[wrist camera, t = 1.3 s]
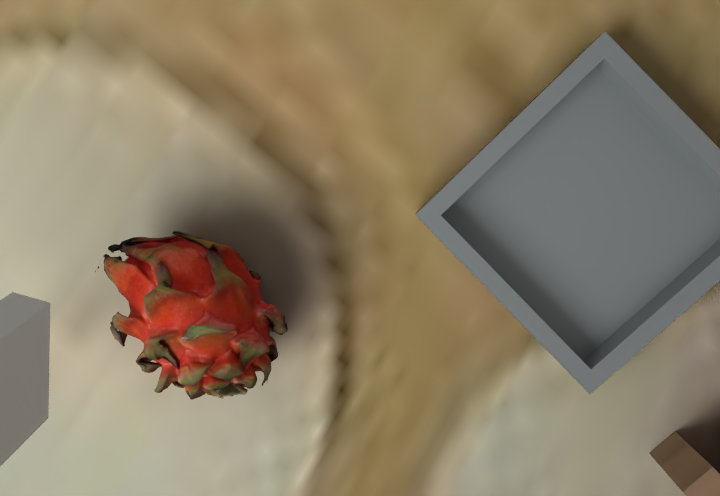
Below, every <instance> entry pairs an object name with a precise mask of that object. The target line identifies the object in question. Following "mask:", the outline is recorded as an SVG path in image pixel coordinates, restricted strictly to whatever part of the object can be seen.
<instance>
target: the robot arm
mask: <svg viewBox="0 0 720 496" xmlns="http://www.w3.org/2000/svg"><path fill="white" fill-rule="evenodd" d="M49 345H50V303H49V302H46V301H42V300H38V299H35V298H31V297H28V296H24V295H20V294H17V293H13V292H12V293H11V294H9V295H8V296H6V297H5V298H3V299H2V300H0V466H1V465H2V464H3V463H4V462H5V461H6V460H7V459H8V458H9V457H10V456H11V455H12V454H13V453H14V452H15V451H16V450H17V449H18V448H19V447H20V446H21V445H22V444H23V443H24V442H25V441H26V440H27V439H28V438H29V437H30V436H31V435H32V434H33V433H34V432H35V431H36V430H37V429H38V428H39V427H40V426H41V425H42V424H43V423H44V422H45V421H46V420H47V419H48V401H49Z"/></svg>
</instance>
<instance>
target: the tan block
mask: <svg viewBox="0 0 720 496" xmlns="http://www.w3.org/2000/svg"><path fill="white" fill-rule="evenodd" d="M650 455H651V456H652V457H653V458H654V459H655V460H656V461H657V463H658V464H659V465H660V466H661V467H662V468H663V470H664V471H665V472H666V473H667V474H668V475H669V476H670V478H671V479H672V480H673V481H674V482H675V483H676V485H677V486H678V487H679V488H680V489H681V490H682V491H683V492H684V494H685V495H686V496H720V474H719V473H718V472H717V471H716V470H715V469H714V468H713V467H712V466H711V465H710V464H709V463H708V462H707V461H706V460H705V459H704V458H703V457H702V456H701V455H700V454H699V453H698V452H697V451H695V450H694V449H693V448H692V447H691V446H690V445H689V444H688V443H687V442H686V441H685V440H684V439H683V438H682V437H681V436H680V435H679V434H678V433H676V432H674V433H673V434H672V435H671V436H669V437H668V438H667V439H666V440H665V441H663V442H662V443H661V444H660V445H659V446H658V447H656V448H655V449H654V450H653V451H652V452H650Z"/></svg>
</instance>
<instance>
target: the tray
mask: <svg viewBox="0 0 720 496" xmlns="http://www.w3.org/2000/svg"><path fill="white" fill-rule="evenodd" d="M416 216H417V217H418V218H419V219H420V220H421V221H422V222H423V223H424V224H425V225H426V226H427V227H428V228H429V229H430V230H431V231H432V233H433V234H434V235H435V236H436V237H437V238H438V239H439V240H440V241H441V242H442V243H443V244H444V245H445V246H446V247H447V248H448V249H449V250H450V251H451V252H452V253H453V254H454V255H455V256H456V257H457V258H458V259H459V260H460V261H461V262H462V263H463V264H464V265H465V266H466V267H467V268H468V269H469V271H470V272H471V273H472V274H473V275H474V276H475V277H476V278H477V279H478V280H479V281H480V282H481V283H482V284H483V285H484V286H485V287H486V288H487V289H488V290H489V291H490V292H491V293H492V294H493V295H494V296H495V297H496V298H497V299H498V300H499V301H500V302H501V303H502V304H503V305H504V306H505V307H506V309H507V310H508V311H509V312H510V313H511V314H512V315H513V316H514V317H515V318H516V319H517V320H518V321H519V322H520V323H521V324H522V325H523V326H524V327H525V328H526V329H527V330H528V331H529V332H530V333H531V334H532V335H533V336H534V337H535V338H536V339H537V340H538V341H539V342H540V343H541V344H542V345H543V347H544V348H545V349H546V350H547V351H548V352H549V353H550V354H551V355H552V356H553V357H554V358H555V359H556V360H557V361H558V362H559V363H560V364H561V365H562V366H563V367H564V368H565V369H566V370H567V371H568V372H569V373H570V374H571V375H572V376H573V377H574V378H575V379H576V380H577V381H578V382H579V383H580V385H581V386H582V387H583V388H584V389H585V390H586V391H587V392H588V393H589V394H591V393H592V392H593V391H594V390H595V389H597V388H598V387H599V386H600V385H601V384H602V383H603V382H605V381H606V380H607V379H608V378H609V377H610V376H611V375H613V374H614V373H615V372H616V371H617V370H618V369H619V368H621V367H622V366H623V365H624V364H625V363H626V362H627V361H629V360H630V359H631V358H632V357H633V356H634V355H635V354H637V353H638V352H639V351H640V350H641V349H642V348H643V347H644V346H646V345H647V344H648V343H649V342H650V341H651V340H652V339H654V338H655V337H656V336H657V335H658V334H659V333H660V332H662V331H663V330H664V329H665V328H666V327H667V326H668V325H670V324H671V323H672V322H673V321H674V320H675V319H676V318H678V317H679V316H680V315H681V314H682V313H683V312H684V311H686V310H687V309H688V308H689V307H690V306H691V305H692V304H693V303H695V302H696V301H697V300H698V299H699V298H700V297H701V296H703V295H704V294H705V293H706V292H707V291H708V290H709V289H711V288H712V287H713V286H714V285H715V284H716V283H717V282H719V281H720V149H719V148H718V147H717V146H716V145H715V144H714V143H713V141H712V140H711V139H710V138H709V137H708V136H707V135H706V134H705V133H704V132H703V131H702V130H701V129H700V128H699V127H698V126H697V125H696V124H695V123H694V122H693V121H692V120H691V119H690V118H689V117H688V116H687V115H686V114H685V113H684V112H683V111H682V110H681V109H680V108H679V107H678V106H677V105H676V104H675V103H674V102H673V101H672V100H671V98H670V97H669V96H668V95H667V94H666V93H665V92H664V91H663V90H662V89H661V88H660V87H659V86H658V85H657V84H656V83H655V82H654V81H653V80H652V79H651V78H650V77H649V76H648V75H647V74H646V73H645V72H644V71H643V70H642V69H641V68H640V67H639V66H638V65H637V64H636V63H635V62H634V61H633V60H632V59H631V58H630V56H629V55H628V54H627V53H626V52H625V51H624V50H623V49H622V48H621V47H620V46H619V45H618V44H617V43H616V42H615V41H614V40H613V39H612V38H611V37H610V36H609V35H608V34H607V33H606V32H604V33H603V34H602V35H600V36H599V37H598V38H597V39H596V40H595V41H593V42H592V43H591V44H590V45H589V46H588V47H587V48H586V49H585V50H584V51H583V52H582V53H581V54H580V55H579V56H578V57H577V58H576V59H575V60H574V61H573V62H572V63H571V64H570V65H569V66H568V67H567V68H566V69H565V70H563V71H562V72H561V73H560V74H559V75H558V76H557V77H556V78H555V79H554V80H553V81H552V82H551V83H550V84H549V85H548V86H547V87H546V88H545V89H544V90H543V91H542V92H541V93H540V94H539V95H538V96H537V97H536V98H535V99H534V100H532V101H531V102H530V103H529V104H528V105H527V106H526V107H525V108H524V109H523V110H522V111H521V112H520V113H519V114H518V115H517V116H516V117H515V118H514V119H513V120H512V121H511V122H510V123H509V124H508V125H507V126H506V127H505V128H504V129H503V130H502V131H500V132H499V133H498V134H497V135H496V136H495V137H494V138H493V139H492V140H491V141H490V142H489V143H488V144H487V145H486V146H485V147H484V148H483V149H482V150H481V151H480V152H479V153H478V154H477V155H476V156H475V157H474V158H473V159H472V160H471V161H470V162H468V163H467V164H466V165H465V166H464V167H463V168H462V169H461V170H460V171H459V172H458V173H457V174H456V175H455V176H454V177H453V178H452V179H451V180H450V181H449V182H448V183H447V184H446V185H445V186H444V187H443V188H442V189H441V190H440V191H439V192H438V193H436V194H435V195H434V196H433V197H432V198H431V199H430V200H429V201H428V202H427V203H426V204H425V205H424V206H423V207H422V208H421V209H420V210H419V211H418V212H417V213H416Z"/></svg>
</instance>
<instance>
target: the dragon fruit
mask: <svg viewBox="0 0 720 496" xmlns="http://www.w3.org/2000/svg"><path fill="white" fill-rule="evenodd" d="M172 234H174V235H176V236H171V237H163V238H147V237H134V238H131V239H128V240H125V241H123V242H121V244H120V245H117V244H115V245H111V246H109V247H108V249H109V250H110V251H111V252H114V251H117V250H120V251H121V252H125V254H126V256H129V258H128V259H126V260H125V261H122V259H121V257H120V256H119V257H110V256H109V255H107V254H105V255H104V256H103V257H105V259H104V263H103V264H104V271H105V272H106V274H107V275H108V277H109V278H110V279H111V281H112V282H113V283H114V284H115V285H116V286H117V288H118V290H119V292H120V293H121V294H122V295H123V296H124V297H126V299H127V300H128V302H129V306H130V310H131V312H130V315H129V317H126V316H123V315H121V314H120V313H119V312H117V314H116V315H114V316H113V318H112V322H111V323H110V324H111V327H110V329H111V332H112V334H113V336H114V338H115V339H116V340H117V341H118V342H119V343H120V344H121V345H122V346H125V344H124V343H125V340H126V337H127V334H128V335H131V336H133V337H136V338H138V339H140V340H141V341H142V342H143V343H144V350H143V352H142V353H141V354H140V355H139V356H138V358H137V360H136V362H137V364H138V365H140V367H141V368H142V370H143V371H144V372H147V373H151V372H154V371H155V370H156V369H157V368H158V367H162V371H161V375H160V378H159V382H158V385H157V387H156V389H155V392H157V393H160V392H162V391H163V390H164V389H166V388H168V386H169V385H170V384H171V383H173V384H174V385H175V386H177V387H180V388H184V387H185V389H186V393H187V394H188V396H189V397H190V399H194V398H198V397H200V396H202V395H204V394H205V393H207V394H208V395H212V396H217V397H218V398H221V397H222V398H224V397H226V396H233V395H235V394H236V395H237V394H246V393H247V389H245V388H244V387H247V388H253V387H254V386H255V384H256V382H257V376H256V374H255V371H262V372H263V373H264V381H263V383H262V386H263V384H264V383H265V381H266V380H268V376H269V374H270V372H271V362H272V361H273V360H275V359H276V358H277V357H278V352H277V348H276V343H275V340H274V339H273V338H272V337H271V336H269V332H270V330H271V331H273V332H276V333H278V334H280V335H282V334H284V333H285V332H287V330H288V328H287V324H286V322H285V316H284V315H283V314H282V313H281V312H279V311H278V310H277V309H276V308H275V307H274V306H273V305H272V304H267V303H265V302H263V301H262V297H261V288H260V285H261V282H262V280H261V277H260V276H259V274H257V273H255V272H252V271H250V273H249V271H248V269H247V267H246V265H245V263H244V261H243V259H242V258H241V257H240V254H239V253H238V252H237V251H235V250H234V249H232V248H231V247H229V246H227V245H224V244H218V243H215V242H212V241H207V240H203V239H201V238H197V237H193V236H190V235H189V234H186V233H182V232H173V233H172ZM98 269H99V265H98ZM95 272H96V271H95ZM271 328H272V329H271ZM117 329H118V330H119V331H117ZM151 360H154V361H156V362H158V363H154V362H150V361H151Z"/></svg>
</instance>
